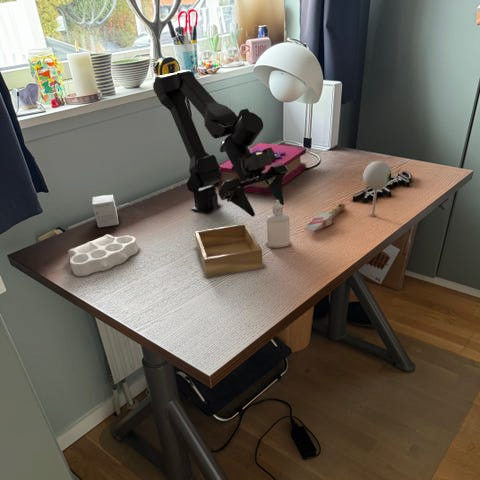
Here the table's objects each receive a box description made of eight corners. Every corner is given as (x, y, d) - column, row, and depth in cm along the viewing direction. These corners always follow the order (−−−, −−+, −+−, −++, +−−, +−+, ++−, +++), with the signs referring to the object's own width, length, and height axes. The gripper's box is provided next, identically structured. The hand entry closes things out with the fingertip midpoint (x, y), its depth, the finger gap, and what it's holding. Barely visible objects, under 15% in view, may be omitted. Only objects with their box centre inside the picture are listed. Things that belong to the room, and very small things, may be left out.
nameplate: (393, 168, 155) (422, 174, 149) (393, 173, 156) (421, 179, 150) (345, 194, 140) (375, 202, 134) (345, 199, 141) (374, 207, 135)
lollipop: (381, 223, 127) (387, 167, 118) (355, 218, 130) (360, 164, 121) (389, 213, 131) (396, 159, 122) (364, 209, 135) (369, 156, 126)
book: (214, 186, 157) (212, 164, 153) (256, 161, 176) (255, 140, 171) (269, 195, 148) (269, 171, 143) (307, 167, 166) (307, 145, 162)
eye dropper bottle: (285, 250, 118) (284, 205, 111) (265, 246, 120) (263, 202, 113) (291, 242, 121) (291, 198, 114) (272, 239, 123) (270, 195, 116)
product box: (97, 228, 137) (91, 204, 132) (98, 220, 141) (91, 196, 137) (119, 224, 137) (113, 201, 133) (118, 216, 142) (113, 193, 138)
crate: (197, 248, 122) (194, 231, 119) (247, 239, 124) (246, 223, 121) (206, 277, 110) (204, 259, 107) (262, 267, 112) (261, 249, 109)
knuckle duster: (118, 238, 130) (148, 254, 121) (58, 263, 120) (86, 282, 111) (115, 227, 128) (146, 242, 119) (54, 251, 118) (82, 270, 109)
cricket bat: (301, 223, 122) (336, 200, 135) (301, 233, 124) (336, 209, 137) (315, 226, 120) (349, 202, 133) (314, 236, 122) (348, 211, 135)
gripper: (220, 147, 108) (250, 206, 107) (283, 130, 116) (312, 185, 115) (206, 172, 118) (233, 226, 117) (265, 155, 126) (291, 206, 125)
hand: (268, 210), depth 118 cm, fingers open, 9 cm apart
